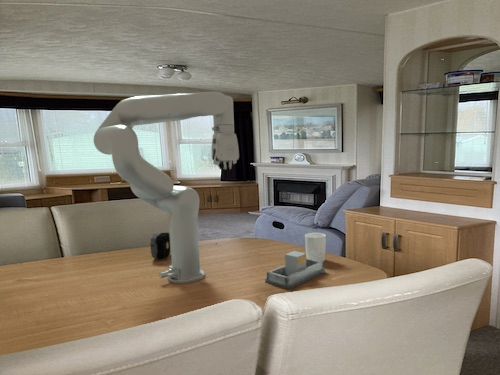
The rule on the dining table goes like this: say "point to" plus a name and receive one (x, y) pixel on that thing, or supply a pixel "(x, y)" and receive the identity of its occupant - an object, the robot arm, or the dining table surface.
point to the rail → (295, 275)
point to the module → (294, 262)
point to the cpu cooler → (160, 245)
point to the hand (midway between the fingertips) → (225, 179)
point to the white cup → (315, 246)
